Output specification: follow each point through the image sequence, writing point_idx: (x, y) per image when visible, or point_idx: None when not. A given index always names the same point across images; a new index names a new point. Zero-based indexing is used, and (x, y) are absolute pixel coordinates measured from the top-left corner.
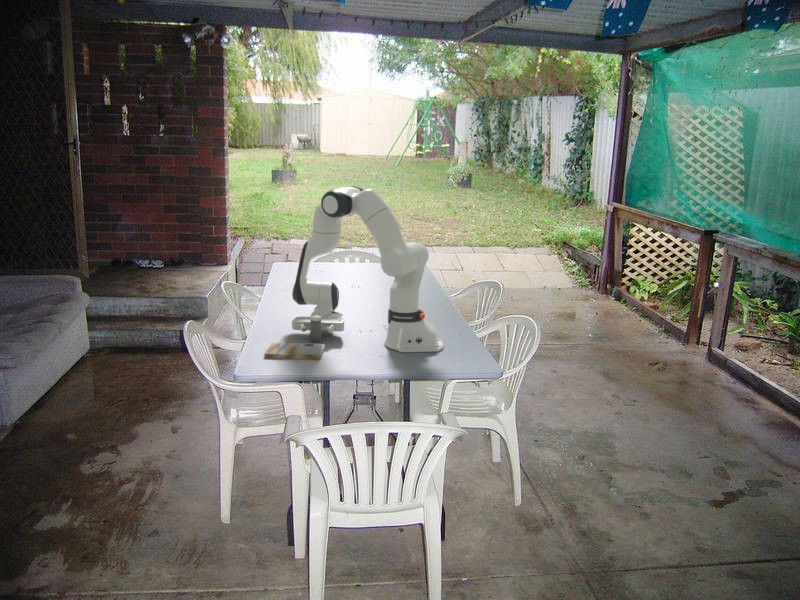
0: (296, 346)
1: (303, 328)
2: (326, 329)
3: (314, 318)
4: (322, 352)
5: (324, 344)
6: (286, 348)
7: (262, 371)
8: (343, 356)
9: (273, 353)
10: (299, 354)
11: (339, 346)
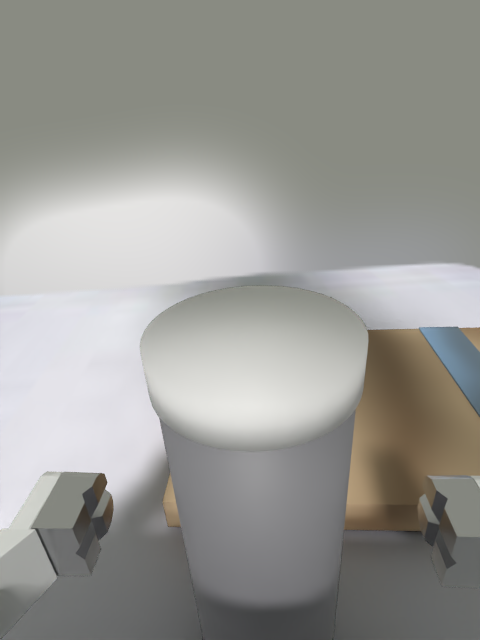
0: (404, 432)
1: (451, 480)
2: (104, 478)
3: (263, 286)
4: None
5: (169, 494)
6: (454, 394)
7: (414, 277)
8: (71, 403)
9: (474, 333)
10: None
11: None
